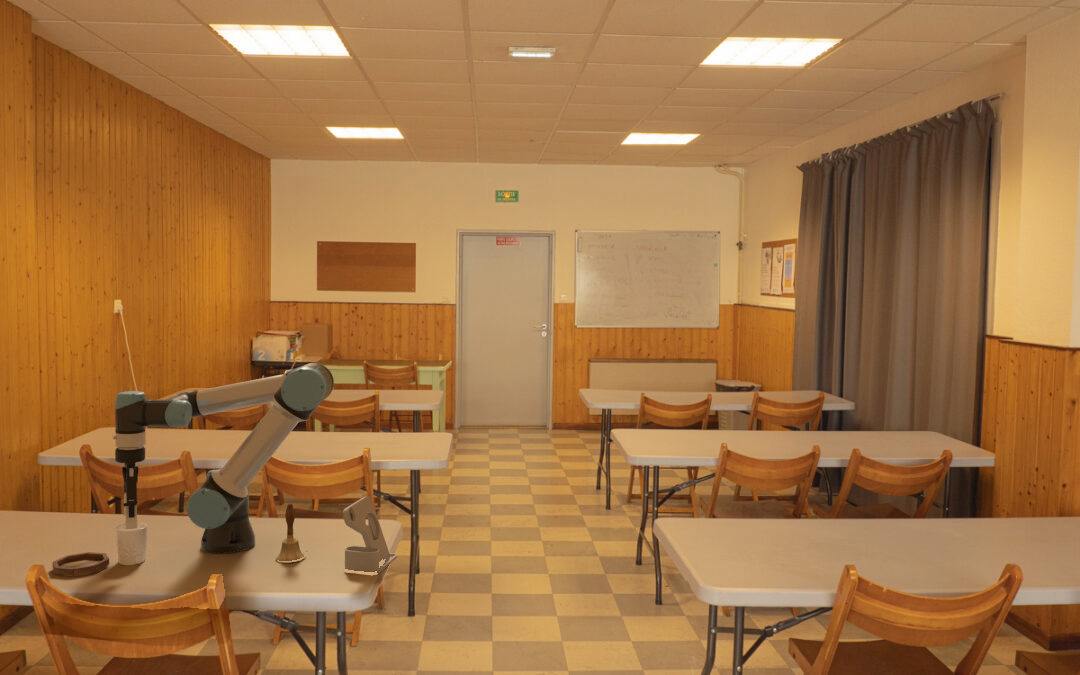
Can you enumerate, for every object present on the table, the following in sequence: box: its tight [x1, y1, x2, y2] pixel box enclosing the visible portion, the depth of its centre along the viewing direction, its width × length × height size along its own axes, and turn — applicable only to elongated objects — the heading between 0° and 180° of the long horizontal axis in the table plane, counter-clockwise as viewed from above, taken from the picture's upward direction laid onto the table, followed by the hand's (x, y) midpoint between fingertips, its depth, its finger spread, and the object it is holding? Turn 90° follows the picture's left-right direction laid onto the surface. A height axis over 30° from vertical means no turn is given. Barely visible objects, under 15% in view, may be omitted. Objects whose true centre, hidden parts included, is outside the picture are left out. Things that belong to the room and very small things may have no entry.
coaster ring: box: [52, 551, 110, 577], centre depth 224 cm, size 13×13×2 cm
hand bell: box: [275, 503, 305, 561], centre depth 235 cm, size 8×8×16 cm
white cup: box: [115, 522, 148, 566], centre depth 230 cm, size 8×8×10 cm
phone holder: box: [342, 495, 398, 574], centre depth 231 cm, size 17×10×18 cm, turn 169°
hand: (130, 521), depth 229 cm, fingers open, 13 cm apart
